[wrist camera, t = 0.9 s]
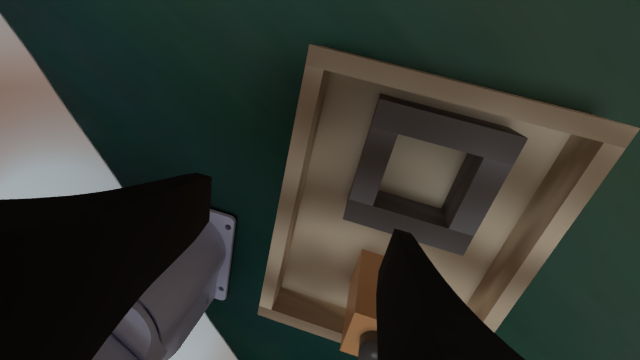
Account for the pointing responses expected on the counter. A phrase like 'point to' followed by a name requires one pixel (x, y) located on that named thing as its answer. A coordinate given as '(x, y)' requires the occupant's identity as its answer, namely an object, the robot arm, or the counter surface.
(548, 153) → the walled box
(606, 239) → the counter surface
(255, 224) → the counter surface
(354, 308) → the connector
